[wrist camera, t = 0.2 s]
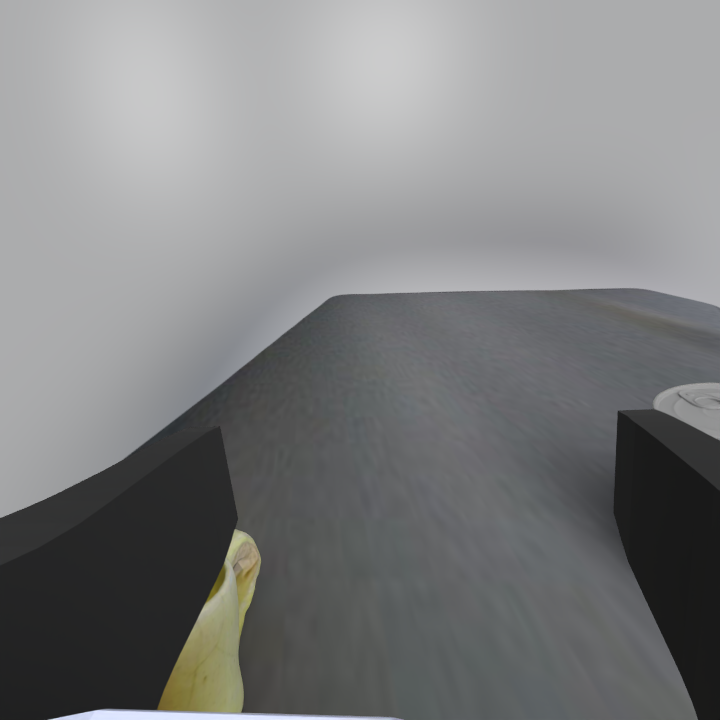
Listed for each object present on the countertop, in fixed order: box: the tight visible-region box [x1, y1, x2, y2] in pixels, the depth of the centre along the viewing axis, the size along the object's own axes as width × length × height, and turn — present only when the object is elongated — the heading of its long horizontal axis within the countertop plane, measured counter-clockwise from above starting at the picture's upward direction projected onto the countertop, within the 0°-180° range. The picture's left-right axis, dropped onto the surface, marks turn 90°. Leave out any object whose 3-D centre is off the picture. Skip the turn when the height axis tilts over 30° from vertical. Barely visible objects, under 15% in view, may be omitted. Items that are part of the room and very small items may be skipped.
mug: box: [157, 529, 261, 713], centre depth 32 cm, size 12×10×10 cm
